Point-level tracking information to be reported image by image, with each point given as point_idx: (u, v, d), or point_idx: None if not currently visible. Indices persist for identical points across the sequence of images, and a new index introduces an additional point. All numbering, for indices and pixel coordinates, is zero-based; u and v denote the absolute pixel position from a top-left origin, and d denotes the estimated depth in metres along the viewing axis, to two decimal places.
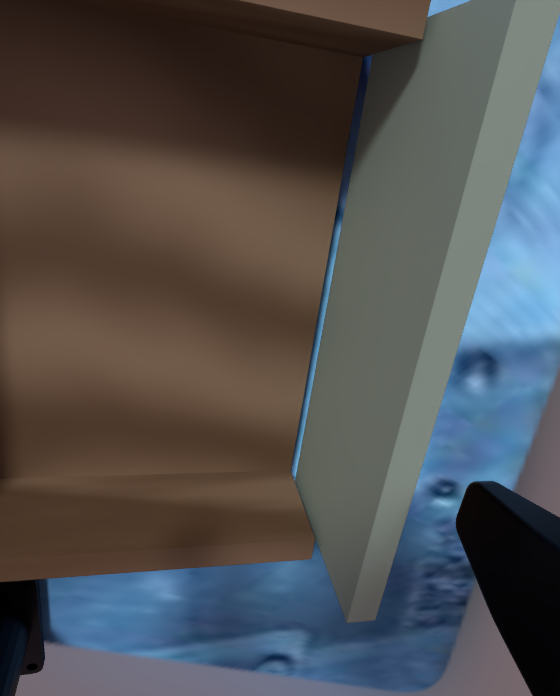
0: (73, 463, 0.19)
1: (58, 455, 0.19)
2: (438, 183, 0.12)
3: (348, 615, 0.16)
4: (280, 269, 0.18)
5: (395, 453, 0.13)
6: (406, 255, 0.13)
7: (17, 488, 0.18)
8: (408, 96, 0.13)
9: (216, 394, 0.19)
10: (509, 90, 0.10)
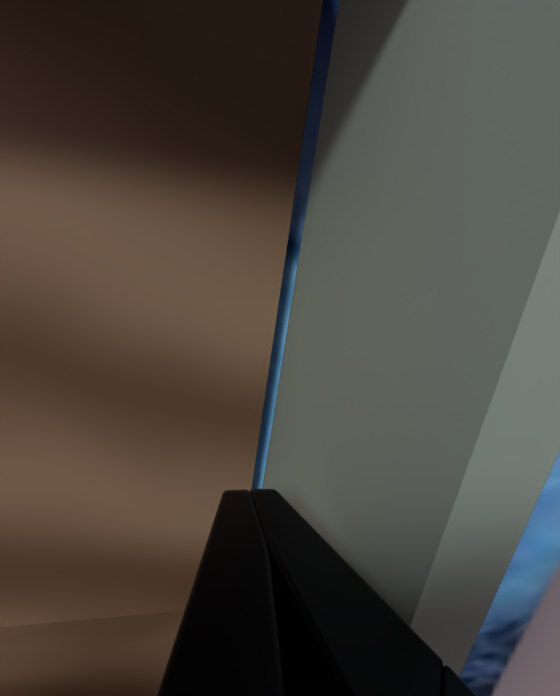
0: None
1: None
2: (467, 225, 0.05)
3: None
4: (199, 336, 0.11)
5: None
6: (394, 362, 0.06)
7: None
8: (402, 38, 0.06)
9: (112, 516, 0.13)
10: None
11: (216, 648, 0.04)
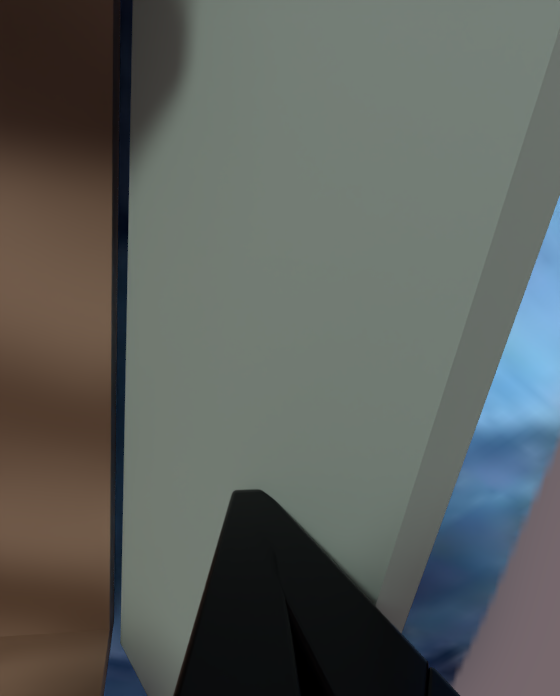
0: None
1: None
2: (387, 202, 0.05)
3: None
4: (20, 329, 0.10)
5: None
6: (307, 349, 0.06)
7: None
8: None
9: None
10: None
11: (231, 646, 0.05)
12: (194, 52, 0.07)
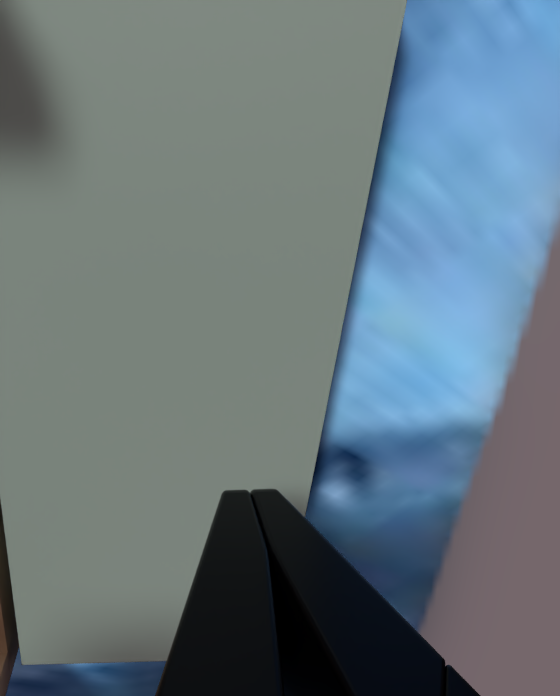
0: None
1: None
2: (311, 166, 0.09)
3: None
4: None
5: (309, 475, 0.12)
6: (260, 266, 0.09)
7: None
8: (165, 12, 0.08)
9: None
10: None
11: (215, 648, 0.04)
12: (83, 47, 0.08)
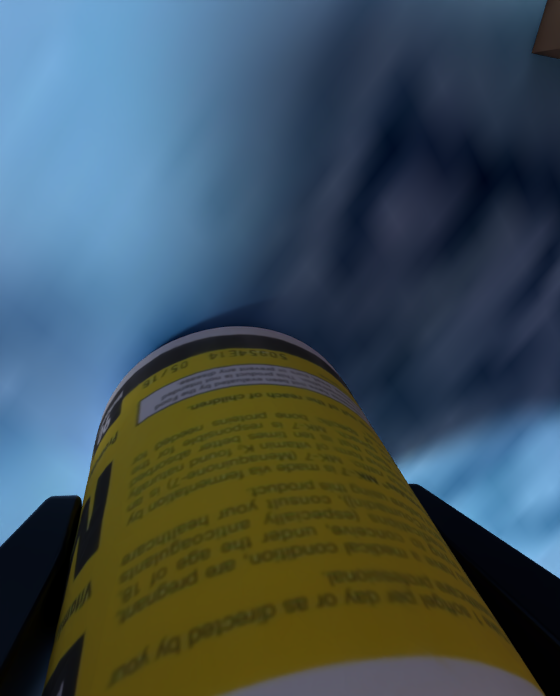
0: None
1: None
2: None
3: None
4: None
5: None
6: None
7: None
8: None
9: None
10: None
11: None
12: None
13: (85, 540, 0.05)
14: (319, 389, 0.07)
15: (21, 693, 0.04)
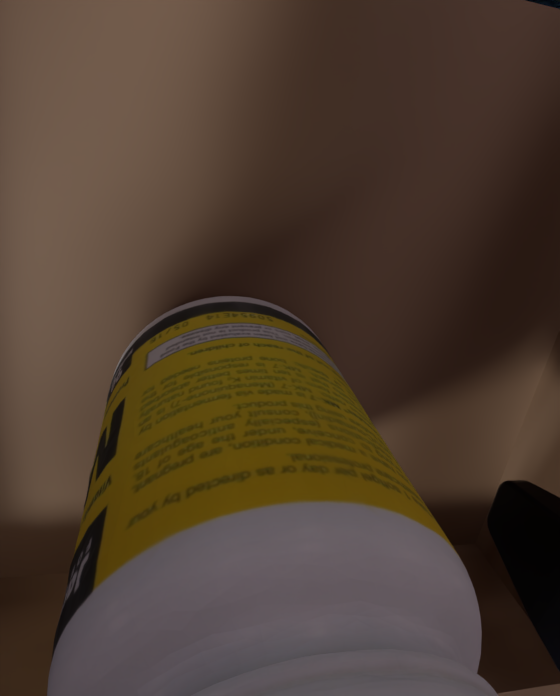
0: (499, 429, 0.13)
1: (480, 446, 0.13)
2: None
3: None
4: (190, 56, 0.08)
5: None
6: None
7: None
8: None
9: (447, 208, 0.10)
10: None
11: None
12: None
13: (104, 453, 0.07)
14: (298, 344, 0.08)
15: None
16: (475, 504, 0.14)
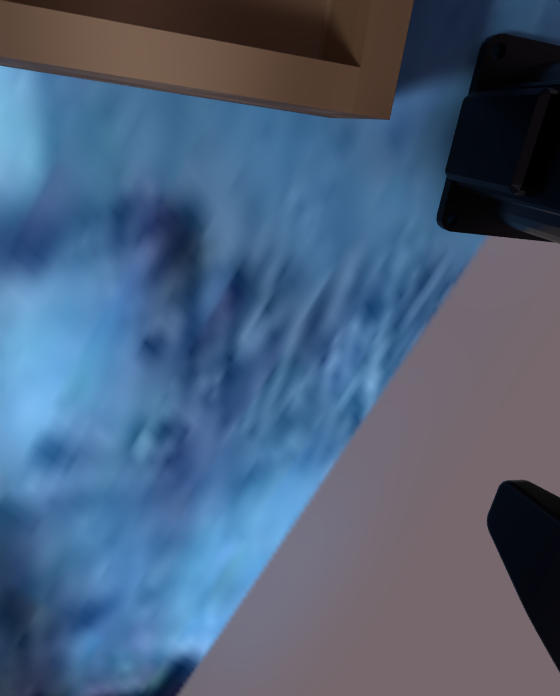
0: None
1: None
2: None
3: None
4: None
5: None
6: None
7: None
8: None
9: None
10: None
11: None
12: None
13: None
14: None
15: None
16: (307, 15, 0.14)
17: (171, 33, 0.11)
